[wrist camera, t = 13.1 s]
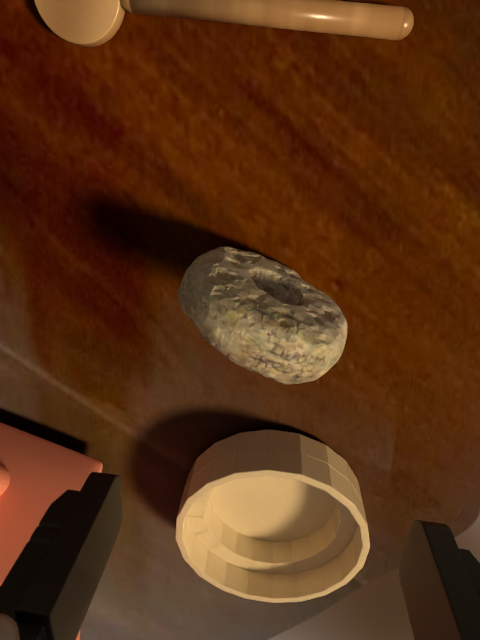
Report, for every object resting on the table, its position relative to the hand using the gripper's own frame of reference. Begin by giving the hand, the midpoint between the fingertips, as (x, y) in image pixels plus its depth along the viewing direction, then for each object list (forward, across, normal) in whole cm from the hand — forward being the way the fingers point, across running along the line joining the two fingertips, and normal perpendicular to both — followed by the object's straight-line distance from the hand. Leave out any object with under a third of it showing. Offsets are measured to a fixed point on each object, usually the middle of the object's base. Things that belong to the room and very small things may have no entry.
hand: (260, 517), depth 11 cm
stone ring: (+19, 0, 0) cm, 19 cm away
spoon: (+19, +5, -15) cm, 25 cm away
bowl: (+19, -2, +20) cm, 28 cm away
